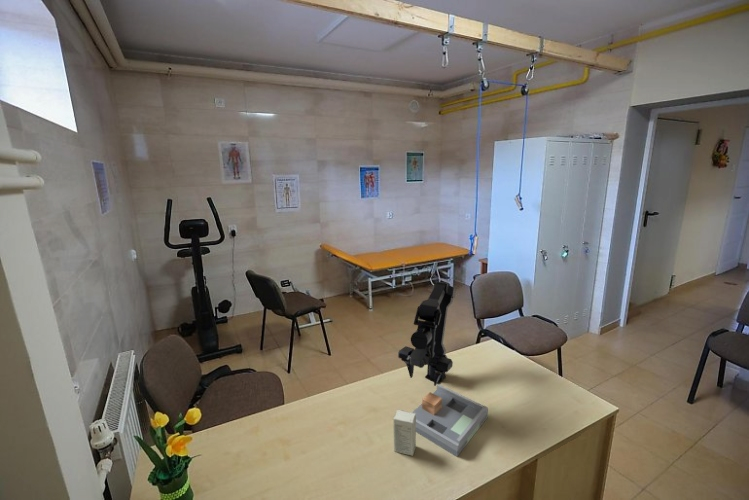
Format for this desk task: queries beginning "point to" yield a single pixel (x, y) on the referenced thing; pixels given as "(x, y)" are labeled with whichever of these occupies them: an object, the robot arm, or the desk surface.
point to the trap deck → (451, 421)
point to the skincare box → (404, 432)
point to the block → (431, 403)
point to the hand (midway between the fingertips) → (423, 381)
